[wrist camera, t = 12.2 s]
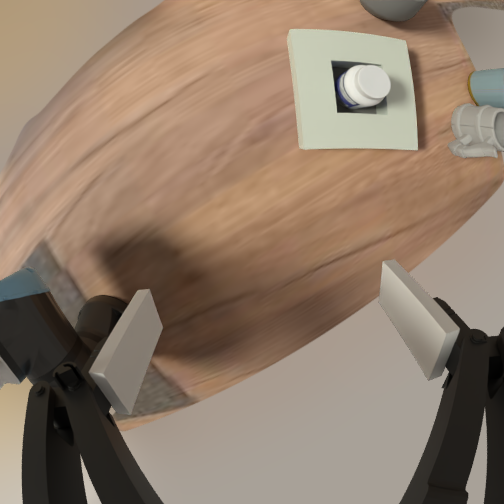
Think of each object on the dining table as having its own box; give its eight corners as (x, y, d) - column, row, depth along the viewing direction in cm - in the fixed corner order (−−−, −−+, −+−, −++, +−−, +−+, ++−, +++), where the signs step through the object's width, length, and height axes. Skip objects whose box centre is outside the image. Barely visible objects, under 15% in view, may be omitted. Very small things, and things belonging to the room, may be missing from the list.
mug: (484, 133, 31) (532, 142, 20) (449, 170, 35) (498, 186, 24) (465, 96, 29) (514, 95, 18) (427, 130, 33) (478, 135, 22)
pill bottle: (365, 75, 30) (394, 63, 22) (368, 110, 32) (398, 106, 24) (329, 72, 30) (350, 56, 22) (332, 108, 32) (354, 102, 24)
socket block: (299, 148, 35) (303, 149, 31) (286, 39, 29) (289, 29, 25) (404, 148, 34) (417, 150, 30) (393, 47, 28) (405, 40, 24)
